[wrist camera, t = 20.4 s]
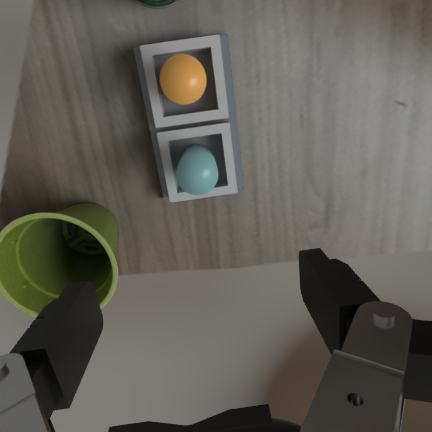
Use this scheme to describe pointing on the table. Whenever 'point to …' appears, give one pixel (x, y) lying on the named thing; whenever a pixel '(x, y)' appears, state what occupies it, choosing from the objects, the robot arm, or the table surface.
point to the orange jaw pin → (183, 79)
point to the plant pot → (58, 255)
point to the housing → (192, 114)
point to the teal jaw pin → (197, 170)
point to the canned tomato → (157, 3)
